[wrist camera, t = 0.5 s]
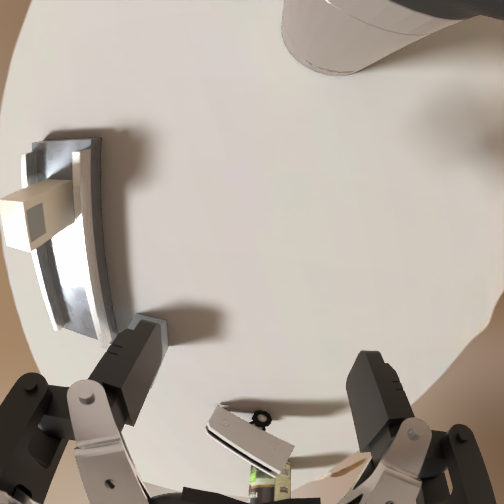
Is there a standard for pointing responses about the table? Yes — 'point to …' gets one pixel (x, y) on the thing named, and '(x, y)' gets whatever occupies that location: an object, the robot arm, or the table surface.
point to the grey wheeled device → (250, 440)
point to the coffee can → (269, 485)
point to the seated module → (37, 213)
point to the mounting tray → (74, 240)
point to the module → (163, 331)
